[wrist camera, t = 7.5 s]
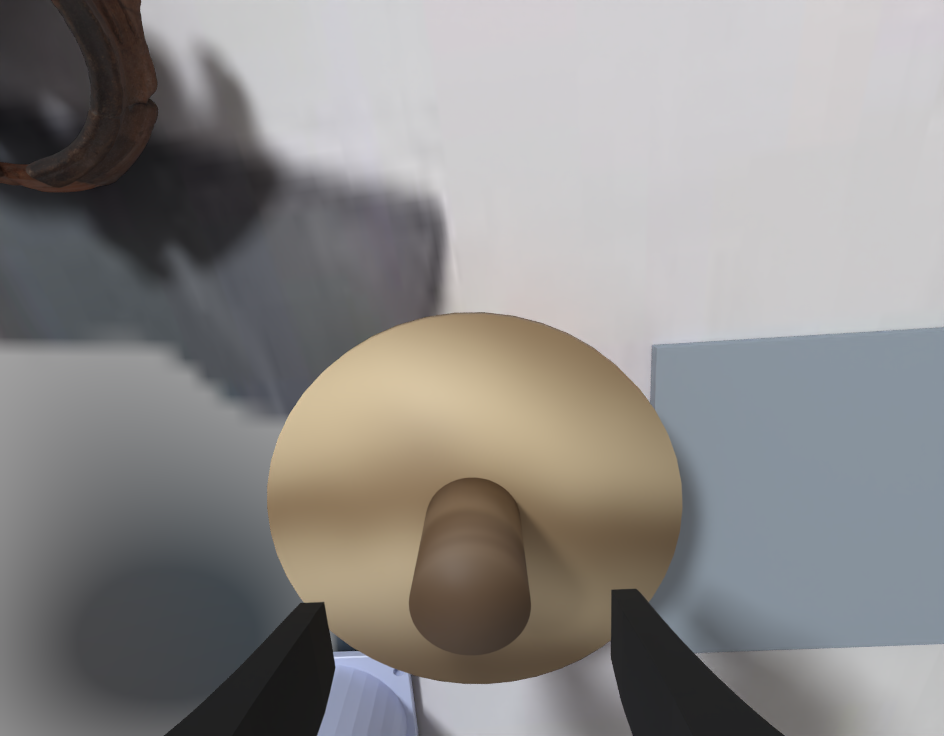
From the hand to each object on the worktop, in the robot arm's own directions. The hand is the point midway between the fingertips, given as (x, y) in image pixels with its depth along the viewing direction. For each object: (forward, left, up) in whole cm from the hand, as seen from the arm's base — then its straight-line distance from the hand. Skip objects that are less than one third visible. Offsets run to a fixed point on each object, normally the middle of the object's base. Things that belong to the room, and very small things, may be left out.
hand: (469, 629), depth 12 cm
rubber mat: (-3, -15, -10) cm, 18 cm away
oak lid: (0, 0, -5) cm, 5 cm away
